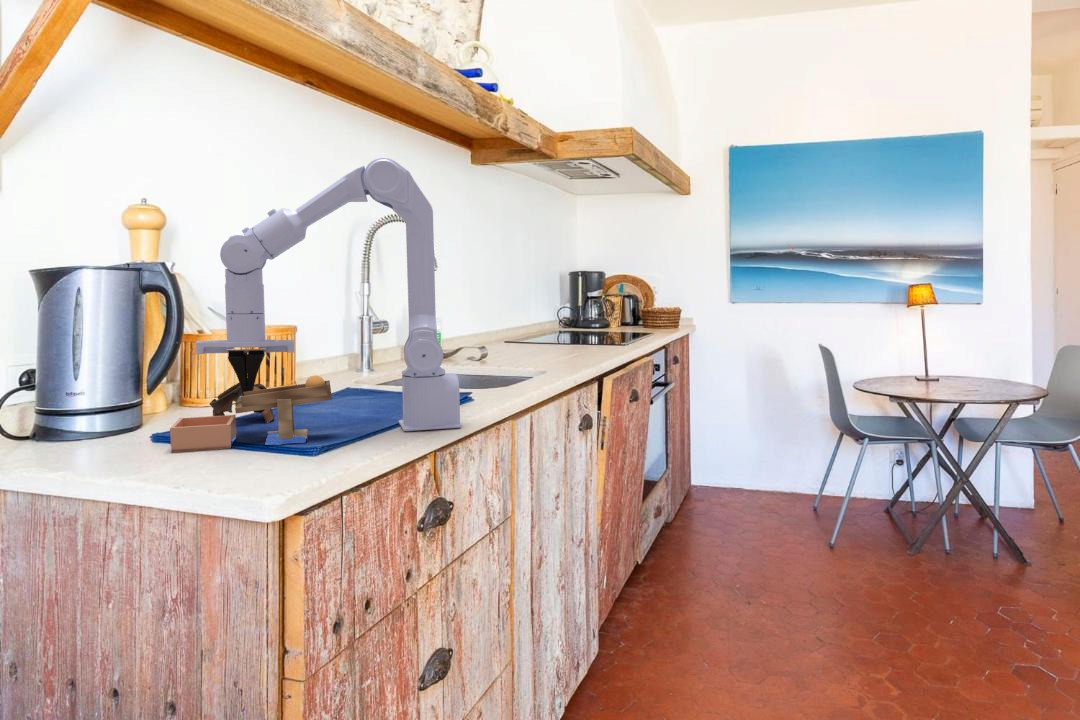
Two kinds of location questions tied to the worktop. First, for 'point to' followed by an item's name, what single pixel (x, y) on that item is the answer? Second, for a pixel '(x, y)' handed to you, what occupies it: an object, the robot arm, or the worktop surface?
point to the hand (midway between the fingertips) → (248, 397)
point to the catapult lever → (282, 396)
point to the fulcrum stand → (287, 421)
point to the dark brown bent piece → (232, 395)
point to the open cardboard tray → (203, 433)
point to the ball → (314, 381)
